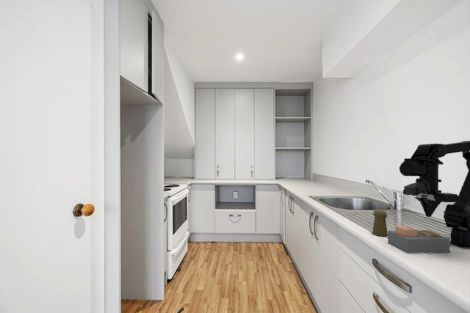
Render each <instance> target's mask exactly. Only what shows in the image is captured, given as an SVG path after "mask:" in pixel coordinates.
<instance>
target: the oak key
mask: <svg viewBox="0 0 470 313" xmlns="http://www.w3.org/2000/svg"><path fill="white" fill-rule="evenodd" d="M417 230H418V229H417ZM417 233H418V234H421V235H424V236H426V237H440V236H441V233H438V232H435V231H432V230H429V229H423V230H422V229H419V230H418V231H417Z"/></svg>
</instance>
